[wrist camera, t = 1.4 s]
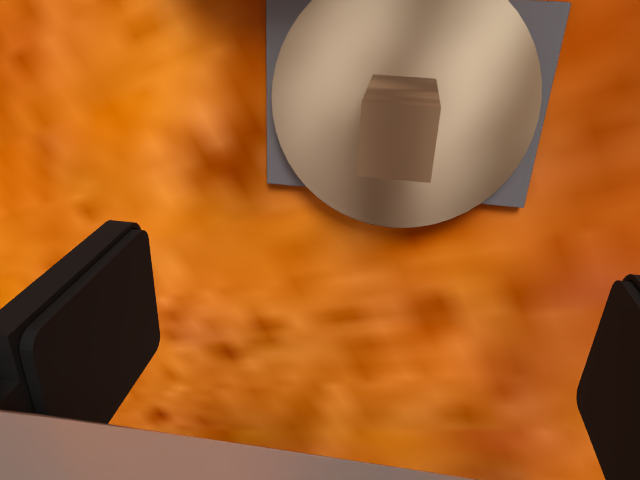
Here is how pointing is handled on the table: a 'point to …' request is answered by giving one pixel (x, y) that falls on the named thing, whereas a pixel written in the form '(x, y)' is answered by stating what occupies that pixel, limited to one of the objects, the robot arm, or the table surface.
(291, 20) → the mat
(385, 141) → the lid
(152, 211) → the table surface
